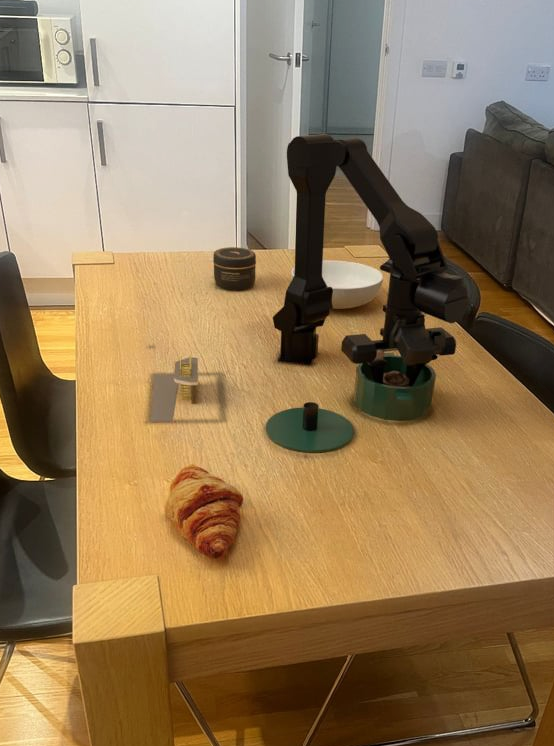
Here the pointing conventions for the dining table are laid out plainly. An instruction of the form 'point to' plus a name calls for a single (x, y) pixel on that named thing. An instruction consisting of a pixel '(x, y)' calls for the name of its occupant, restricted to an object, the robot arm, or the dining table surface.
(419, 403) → the pot
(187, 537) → the croissant
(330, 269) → the serving bowl
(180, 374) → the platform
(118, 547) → the dining table surface
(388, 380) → the mushroom
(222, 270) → the jar
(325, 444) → the lid
